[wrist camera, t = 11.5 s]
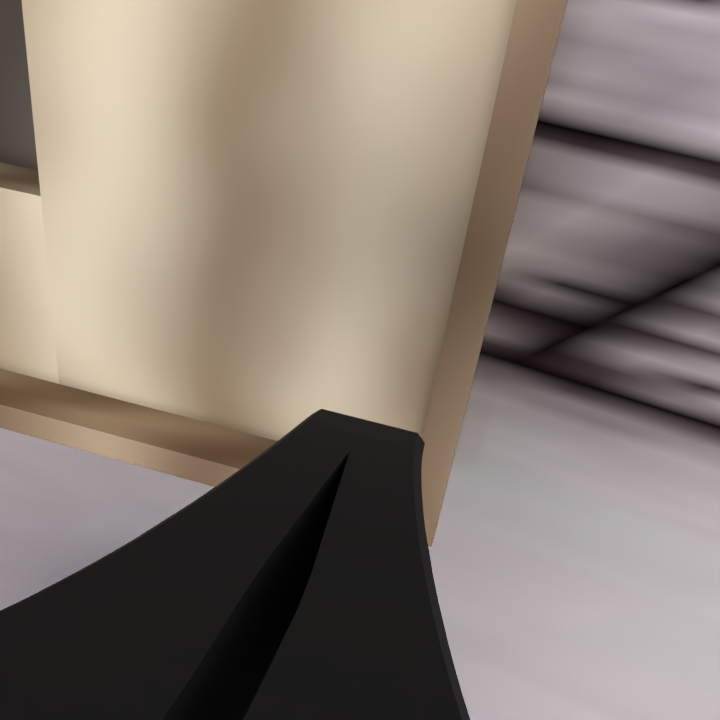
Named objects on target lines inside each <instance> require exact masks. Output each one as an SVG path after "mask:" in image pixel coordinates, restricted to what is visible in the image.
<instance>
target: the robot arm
mask: <svg viewBox="0 0 720 720" xmlns="http://www.w3.org/2000/svg"><path fill="white" fill-rule="evenodd" d="M424 446H425V443H424V441H423V440H422V438H421V437H420V435H419V434H418V433H416V432H412V431H408V430H404V429H400V428H396V427H392V426H388V425H384V424H380V423H376V422H372V421H368V420H364V419H360V418H356V417H352V416H348V415H344V414H340V413H337V412H333V411H329V410H325V409H320V410H318V411H316V412H315V413H313V414H311V415H310V416H309V417H307V418H306V419H305V420H304V421H302V422H301V423H300V424H299V425H297V426H296V427H295V428H294V429H292V430H291V431H290V432H289V433H287V434H286V435H285V436H284V437H282V438H281V439H280V440H278V441H277V442H276V443H275V444H273V445H272V446H271V447H269V448H268V449H267V450H265V451H264V452H263V453H261V454H260V455H259V456H257V457H256V458H255V459H253V460H252V461H251V462H249V463H248V464H247V465H245V466H244V467H242V468H241V469H240V470H238V471H237V472H235V473H234V474H233V475H231V476H230V477H228V478H227V479H226V480H224V481H223V482H221V483H220V484H218V485H217V486H216V487H214V488H213V489H211V490H210V491H209V492H207V493H206V494H204V495H203V496H201V497H200V498H198V499H197V500H195V501H194V502H192V503H191V504H189V505H188V506H186V507H185V508H183V509H181V510H180V511H178V512H177V513H175V514H174V515H172V516H170V517H169V518H167V519H166V520H164V521H162V522H161V523H159V524H158V525H156V526H155V527H153V528H151V529H150V530H148V531H147V532H145V533H143V534H142V535H140V536H139V537H137V538H135V539H134V540H132V541H131V542H129V543H127V544H126V545H124V546H122V547H120V548H119V549H117V550H115V551H113V552H112V553H110V554H108V555H106V556H105V557H103V558H101V559H100V560H98V561H96V562H94V563H92V564H91V565H89V566H87V567H85V568H83V569H81V570H80V571H78V572H76V573H74V574H72V575H70V576H68V577H66V578H65V579H63V580H61V581H59V582H57V583H55V584H53V585H51V586H49V587H47V588H45V589H44V590H42V591H40V592H38V593H36V594H34V595H32V596H30V597H28V598H26V599H24V600H22V601H20V602H18V603H16V604H13V605H11V606H9V607H7V608H5V609H3V610H1V611H0V720H470V718H469V715H468V712H467V708H466V705H465V702H464V699H463V696H462V692H461V689H460V685H459V682H458V678H457V675H456V671H455V668H454V664H453V660H452V656H451V653H450V649H449V645H448V641H447V637H446V633H445V628H444V624H443V620H442V616H441V611H440V607H439V603H438V598H437V593H436V588H435V583H434V578H433V574H432V567H431V561H430V555H429V549H428V542H427V536H426V530H425V522H424V513H423V500H422V483H421V468H422V455H423V450H424Z"/></svg>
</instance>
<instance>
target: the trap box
mask: <svg viewBox="0 0 720 720" xmlns="http://www.w3.org/2000/svg"><path fill="white" fill-rule="evenodd" d="M566 4H567V0H0V428H4V429H7V430H11V431H15V432H18V433H22V434H26V435H29V436H33V437H36V438H40V439H44V440H47V441H51V442H55V443H58V444H62V445H65V446H69V447H73V448H76V449H80V450H84V451H87V452H91V453H94V454H98V455H102V456H105V457H109V458H113V459H116V460H120V461H123V462H127V463H131V464H134V465H138V466H142V467H145V468H149V469H152V470H156V471H160V472H163V473H167V474H171V475H174V476H178V477H181V478H185V479H189V480H192V481H196V482H200V483H203V484H207V485H210V486H214V487H216V486H217V485H218V484H220V483H221V482H223V481H224V480H226V479H227V478H228V477H230V476H231V475H233V474H234V473H235V472H237V471H238V470H240V469H241V468H242V467H244V466H245V465H247V464H248V463H249V462H251V461H252V460H253V459H255V458H256V457H257V456H259V455H260V454H261V453H263V452H264V451H265V450H267V449H268V448H269V447H271V446H272V445H273V444H275V443H276V442H277V441H278V440H280V439H281V438H282V437H284V436H285V435H286V434H287V433H289V432H290V431H291V430H292V429H294V428H295V427H296V426H297V425H299V424H300V423H301V422H302V421H304V420H305V419H306V418H307V417H309V416H310V415H311V414H313V413H315V412H316V411H318V410H320V409H325V410H329V411H333V412H337V413H340V414H344V415H348V416H352V417H356V418H360V419H364V420H368V421H372V422H376V423H380V424H384V425H388V426H392V427H396V428H400V429H404V430H408V431H412V432H416V433H418V434H419V435H420V437H421V438H422V440H423V441H424V443H425V446H424V450H423V455H422V468H421V483H422V500H423V513H424V522H425V530H426V536H427V542H428V546H432V543H433V539H434V535H435V531H436V527H437V523H438V519H439V515H440V511H441V507H442V503H443V499H444V495H445V491H446V487H447V483H448V479H449V475H450V471H451V467H452V463H453V459H454V455H455V451H456V447H457V443H458V439H459V434H460V430H461V426H462V422H463V418H464V414H465V410H466V406H467V402H468V398H469V394H470V390H471V386H472V382H473V378H474V374H475V370H476V366H477V362H478V358H479V354H480V350H481V346H482V342H483V338H484V334H485V330H486V326H487V322H488V318H489V314H490V310H491V306H492V302H493V298H494V294H495V290H496V286H497V282H498V278H499V273H500V269H501V265H502V261H503V257H504V253H505V249H506V245H507V241H508V237H509V233H510V229H511V225H512V221H513V217H514V213H515V209H516V205H517V201H518V197H519V193H520V189H521V185H522V181H523V177H524V173H525V169H526V165H527V161H528V157H529V153H530V149H531V145H532V141H533V137H534V133H535V129H536V125H537V121H538V117H539V112H540V108H541V104H542V100H543V96H544V92H545V88H546V84H547V80H548V76H549V72H550V68H551V64H552V60H553V56H554V52H555V48H556V44H557V40H558V36H559V32H560V28H561V24H562V20H563V16H564V12H565V8H566Z"/></svg>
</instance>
